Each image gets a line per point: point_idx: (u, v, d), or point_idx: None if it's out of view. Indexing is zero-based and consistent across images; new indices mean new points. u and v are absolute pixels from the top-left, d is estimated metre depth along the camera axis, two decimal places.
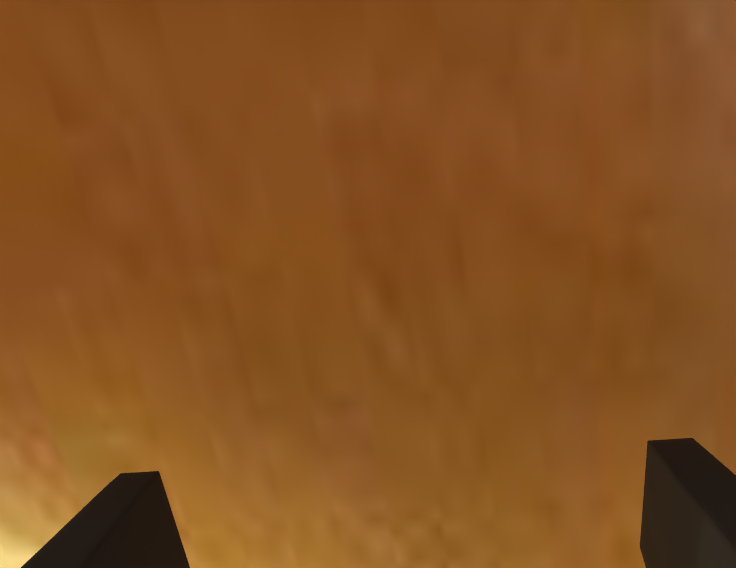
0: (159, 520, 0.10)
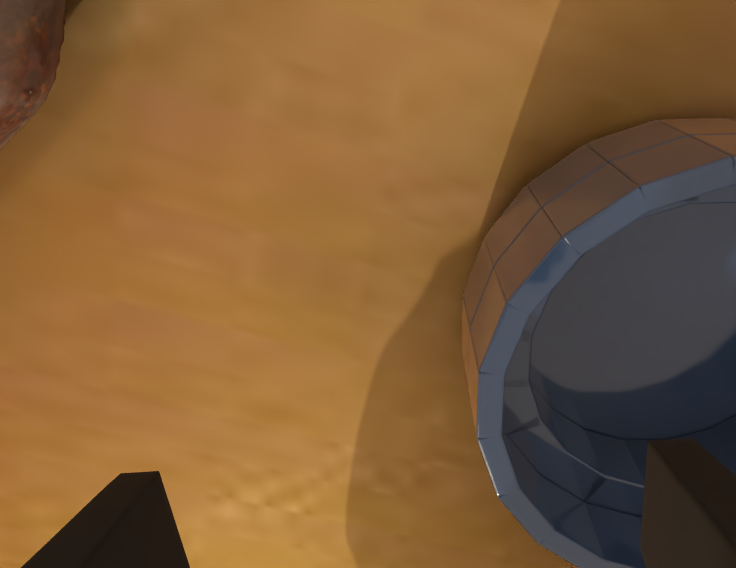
0: (159, 519, 0.10)
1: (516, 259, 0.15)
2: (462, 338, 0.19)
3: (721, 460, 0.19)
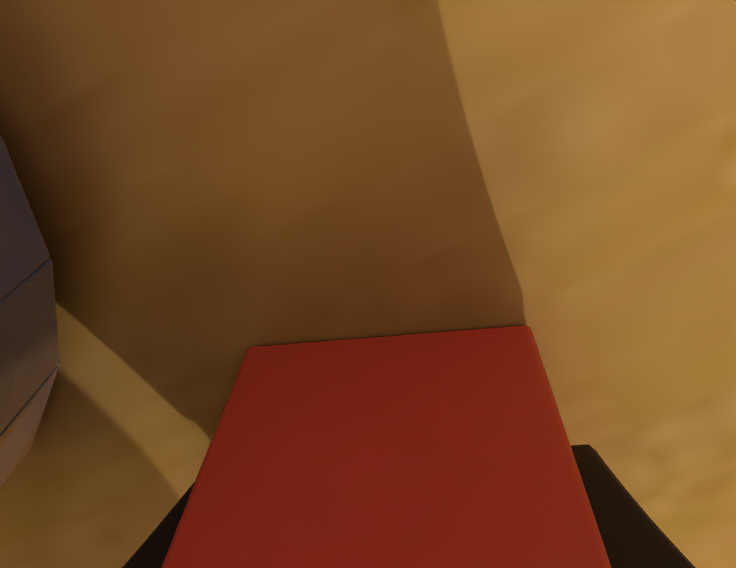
0: None
1: None
2: None
3: None
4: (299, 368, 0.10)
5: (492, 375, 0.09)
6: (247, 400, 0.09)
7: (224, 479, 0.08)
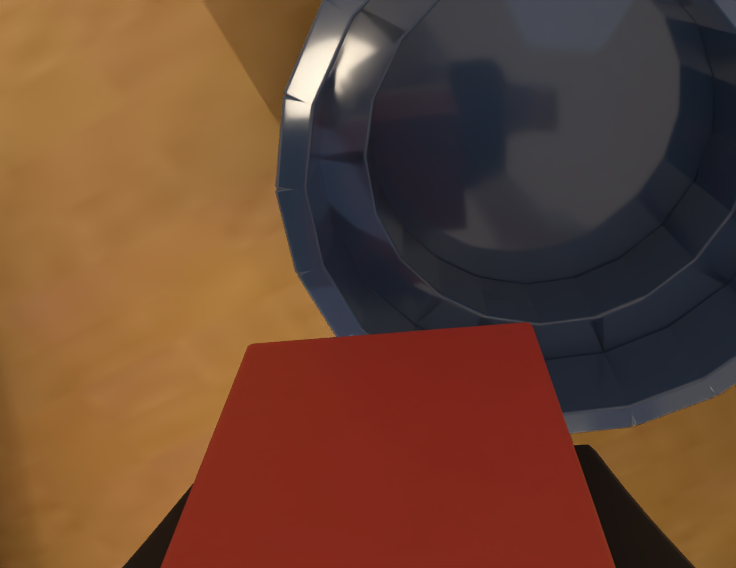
0: None
1: None
2: None
3: (710, 209, 0.16)
4: (300, 364, 0.10)
5: (494, 372, 0.09)
6: (248, 397, 0.09)
7: (226, 476, 0.08)
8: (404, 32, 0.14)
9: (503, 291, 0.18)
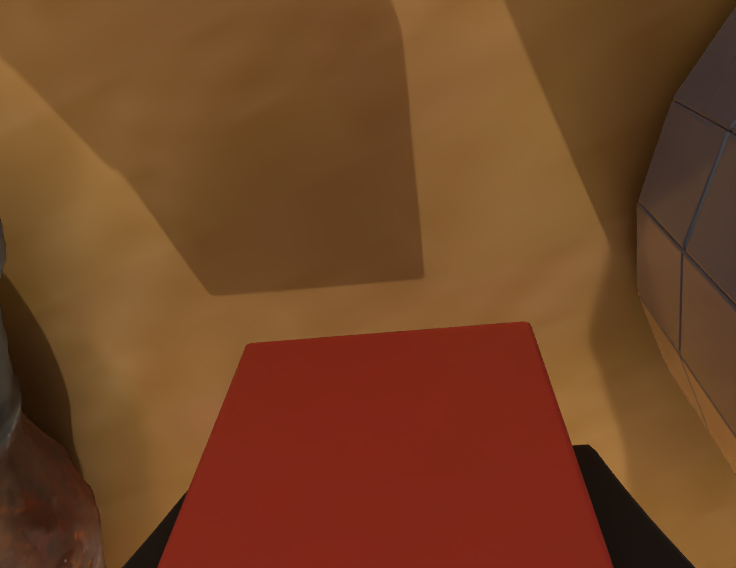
0: None
1: (705, 353, 0.09)
2: None
3: None
4: (298, 364, 0.10)
5: (492, 370, 0.09)
6: (246, 395, 0.09)
7: (223, 474, 0.08)
8: None
9: None
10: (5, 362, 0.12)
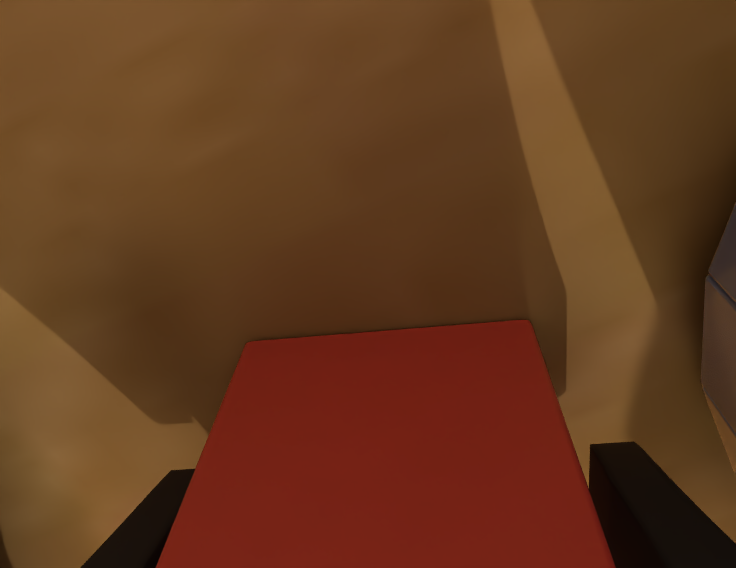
0: None
1: None
2: None
3: None
4: (297, 362, 0.10)
5: (492, 369, 0.09)
6: (246, 394, 0.09)
7: (222, 473, 0.08)
8: None
9: None
10: None
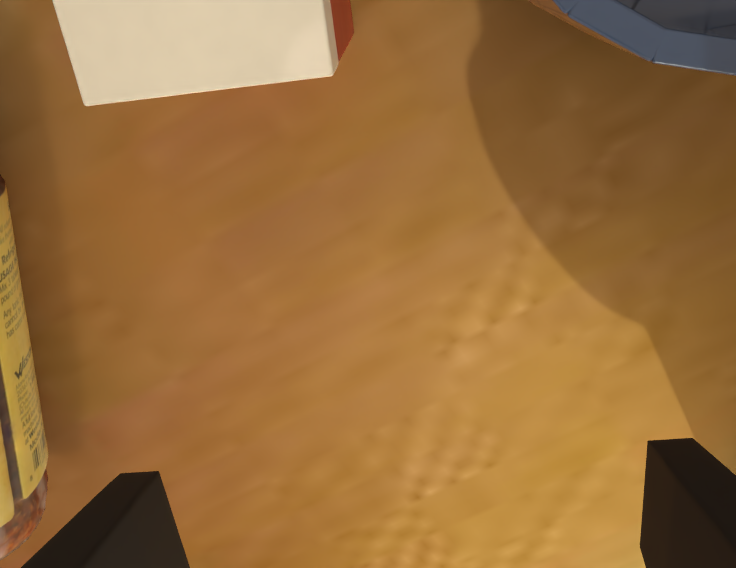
0: (159, 520, 0.10)
1: None
2: None
3: None
4: None
5: None
6: None
7: None
8: None
9: None
10: None
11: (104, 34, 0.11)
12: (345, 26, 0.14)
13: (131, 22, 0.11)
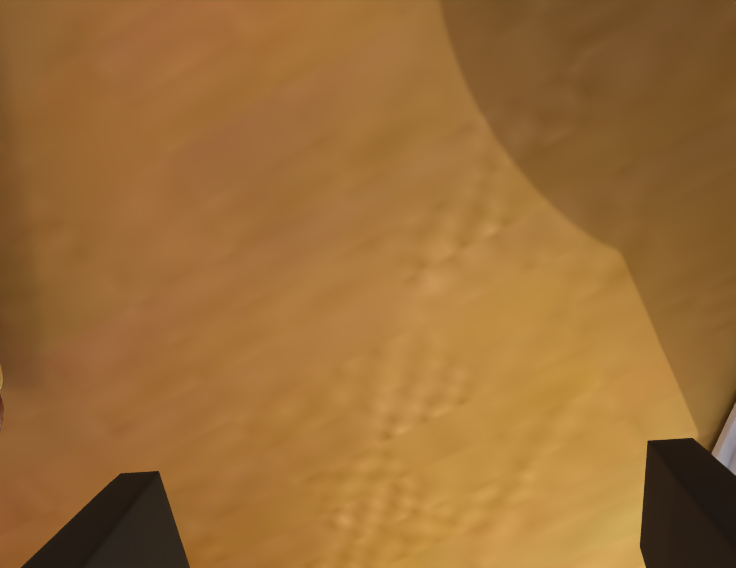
0: (159, 519, 0.10)
1: None
2: None
3: None
4: None
5: None
6: None
7: None
8: None
9: None
10: None
11: None
12: None
13: None
